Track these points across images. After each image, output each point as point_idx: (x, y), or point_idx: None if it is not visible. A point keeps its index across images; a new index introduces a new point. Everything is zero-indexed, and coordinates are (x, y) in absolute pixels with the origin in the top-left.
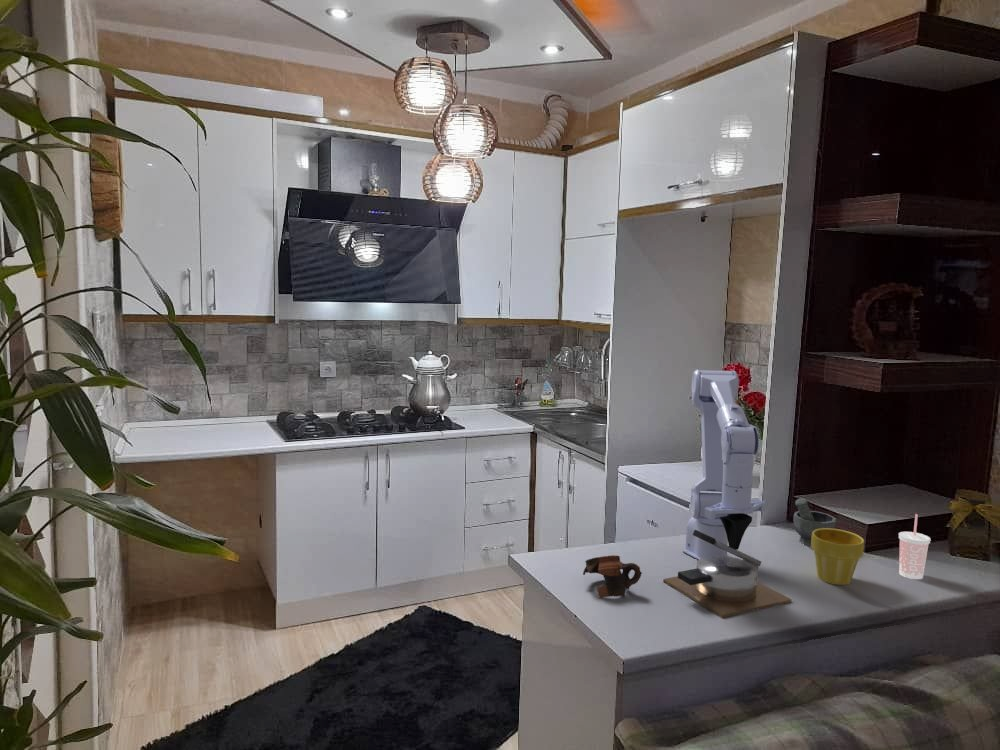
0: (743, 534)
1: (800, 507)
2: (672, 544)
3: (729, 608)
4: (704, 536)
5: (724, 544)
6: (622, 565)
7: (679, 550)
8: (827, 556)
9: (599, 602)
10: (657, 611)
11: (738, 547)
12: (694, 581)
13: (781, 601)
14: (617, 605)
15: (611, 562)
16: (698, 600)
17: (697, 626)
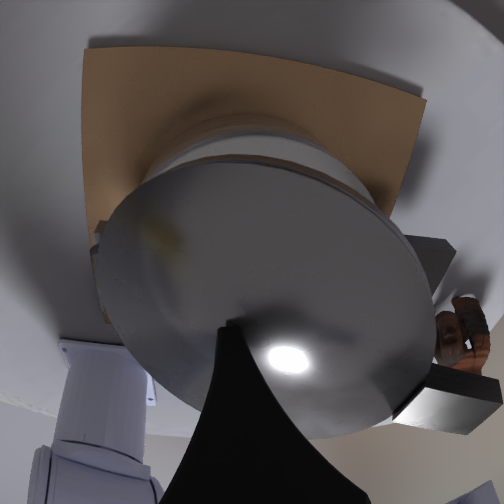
0: (208, 409)
1: None
2: (150, 419)
3: (373, 110)
4: (488, 392)
5: (274, 375)
6: (462, 358)
7: (156, 405)
8: None
9: (492, 291)
10: (480, 219)
11: (226, 334)
12: (440, 244)
13: (138, 47)
14: (491, 272)
15: (478, 364)
16: (393, 203)
17: (491, 117)
